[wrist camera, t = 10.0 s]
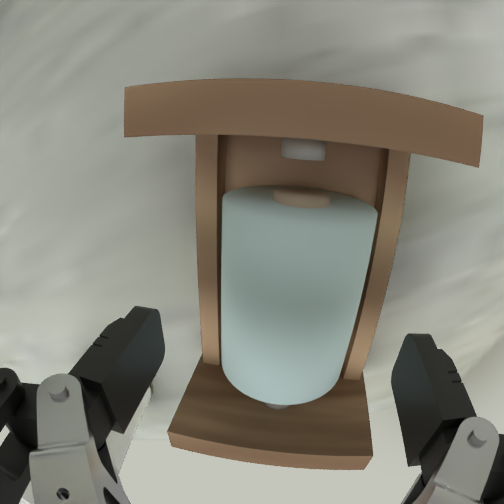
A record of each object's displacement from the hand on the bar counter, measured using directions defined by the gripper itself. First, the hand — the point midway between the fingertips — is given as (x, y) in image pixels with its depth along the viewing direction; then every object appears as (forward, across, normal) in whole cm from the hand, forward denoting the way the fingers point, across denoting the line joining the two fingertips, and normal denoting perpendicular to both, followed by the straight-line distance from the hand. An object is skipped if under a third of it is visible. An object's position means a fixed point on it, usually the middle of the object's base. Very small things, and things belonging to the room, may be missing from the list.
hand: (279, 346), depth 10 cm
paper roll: (+7, 0, 0) cm, 7 cm away
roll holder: (+8, 0, 0) cm, 8 cm away
